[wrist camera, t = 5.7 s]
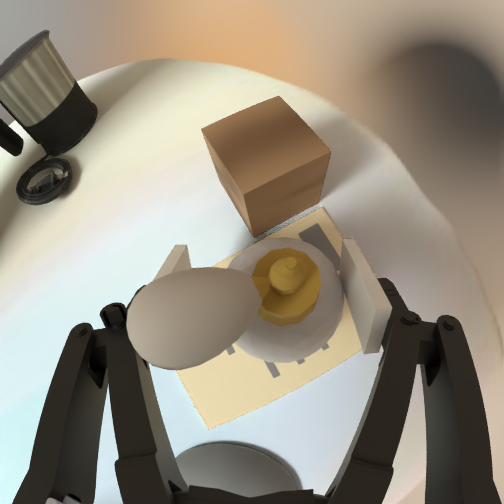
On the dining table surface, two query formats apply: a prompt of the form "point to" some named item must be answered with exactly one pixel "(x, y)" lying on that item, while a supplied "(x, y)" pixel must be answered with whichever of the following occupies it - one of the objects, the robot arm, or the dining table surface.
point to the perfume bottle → (240, 307)
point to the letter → (259, 371)
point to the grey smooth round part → (234, 470)
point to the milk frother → (43, 113)
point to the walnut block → (268, 163)
